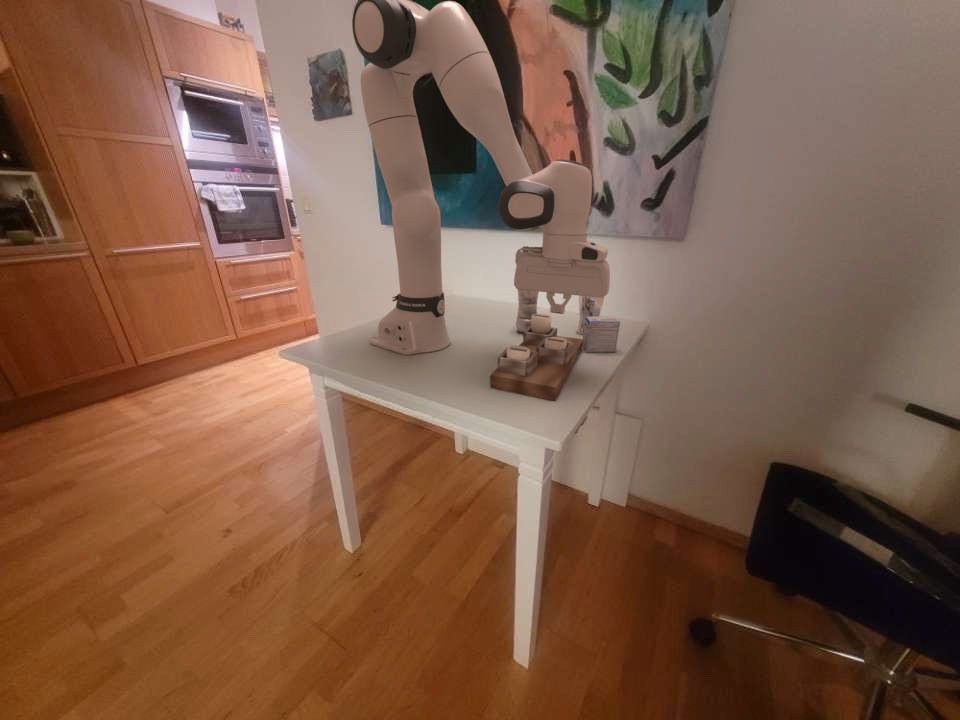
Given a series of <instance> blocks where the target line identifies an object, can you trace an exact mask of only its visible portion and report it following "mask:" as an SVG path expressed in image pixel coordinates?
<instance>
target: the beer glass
mask: <svg viewBox="0 0 960 720" xmlns="http://www.w3.org/2000/svg"><path fill="white" fill-rule="evenodd" d="M604 300H605V297H603V298H598V297H588V296H578V312H579V320H578V321H579V322H578V326H577V328H576V329H577V330H576V332H577V333H578V334H579V335H581V336H583V332H584V323H585V317H600V316H601V311H602V308H603V305H604Z"/></svg>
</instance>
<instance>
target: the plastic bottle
mask: <svg viewBox="0 0 960 720" xmlns="http://www.w3.org/2000/svg"><path fill="white" fill-rule="evenodd" d="M517 297H518V299H517V300H518V308H517V316H516V320H515V328H516V330H517V331H518V332H519V333H522V334H523V333H524V331H525V330H526V329H527V328H528V327H529V326H530V325H531V321H532V315H534V314H538V308H537V307H538V299H539V291H529V290H520V289H517Z"/></svg>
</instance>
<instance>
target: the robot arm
mask: <svg viewBox="0 0 960 720" xmlns="http://www.w3.org/2000/svg"><path fill="white" fill-rule="evenodd" d="M351 22H352V23H351V26H352V27H351V28H352V35H353V38H354V39H353V40H354V42H355V45H356V47H357V50H358V51H359V53H360V55H362V57H363V58H364V59H366V61H368V62H369V63H368V64H366V65H365V66H364V68H363V69H362V71H361V73H360V91H361V96H362V97H361V98H362V103H363V108H364V109H363V110H364V114H365V119H366V123H367V126H368V130H369V134H370V137H371V141H372V145H373V147H374V153H375V155H376V158H377V164H378V167H379V169H380V173H381V176H382V179H383V181H384V185H385V188H386V191H387V194H388V198H389V201H390V204H391V220H392V229H393V237H394V238H393V239H394V245H395V246H394V247H395V254H396V261H397V270H398V271H397V272H398V280H399V291H400V292H399V294H397V295H394V296H393V297H391V299H393V300H391V301H392V302H396V304H395V307H394V308H392V310H390V311H389V312H388V313H387V314H386V315H384V316H383V317H382V318H381V319H380V320H379V323H378V327H377V331H378V332H377V334H375V335H374V336H373V337H372V338H371V339H370V344H371V345H373V346H376V347H380V348H382V349H385V350H389V351H392V352H394V353H399V354H402V355H406V356H410V355H413V354H414V355H415V354H420V353H431V352H436V351H440V350H442V349H445V348H447V347H448V346H449V345H450V344H451V343H452V342H451V339H450V336H449V333H448V329H447V324H446V318H445V313H446V311H445V309H446V304H445V301H446V300H445V293H444V292H443V278H442V277H443V276H442V275H443V274H442V228H441V227H442V224H441V223H442V222H441V211H440V210H441V209H440V206H439V204H438V202H437V201H436V199H435V192H434V189H433V185H432V180H431V175H430V169H429V164H428V158H427V155H426V154H427V153H426V149H425V145H424V140H423V137H422V136H423V135H422V131H421V127H420V123H419V117H418V114H417V110H416V106H415V102H414V87H415V84H416V85H417V86H420V87H421V86H425V85H426V84H427V83H428V82H429V81H430V80H431V79H432V78H434V81H435V82H436V85H437V87H438V89H439V91H440V93H441V95H442V98H443V100H444V101H445V103H446V106H447V107H448V109H449V110H450V112H451V113H452V115H453V117H454V118H455V119H456V121H457V122H458V123H459V125H460V126H461V127H463V128H464V129H465V130H466V132H468V133H469V134H471V135H472V136H473V137H474V138H475V139H477V140H478V141H479V142H480V144H482V145H483V147H484V148H485V149H486V150H487V151H488V152H489V155H490V156H491V157H492V160H493V161H494V164H495V166H496V168H497V170H498V172H499V174H500V176H501V178H502V180H503V182H504V184H505V187H504V189H503V190H502V191H501V193H500V195H499V197H498V204H497V211H498V215H499V217H500V219H501V221H502V222H503V223H504V225H506V226H507V227H508V228H511V230H512V229H513V230H515V231H520V232H521V231H522V232H523V231H535V230H538V229H541V228H542V231H543V232H542V233H543V234H542V242H541V243H542V245H541V246H534V247H533V246H522V247H521V248H519V249H518V250H517V251H516V252H515V264H516V266H515V271H514V279H513V285H514V287H515V289H517V290H518V289H520V290H529V291H539V292H540V293H546V295H545V296H546V299H547V302H548V303H549V305H550V310H549V312H550V313H551V314H560V315H565V311H566V305H567V304H568V302H569V301H570V300H571V299H572V297H573V296H578V297H579V296H588V297H598V298H603V297H604V298H605V297H606V296H607V295H608V294H609V290H610V282H611V281H610V280H611V275H610V274H611V271H610V265H609V263H608V261H607V260H605V259H607V258H608V253H609V251H608V248H607V247H605V246H603V245H600V244H598V243H595V242H593V241H590V240H588V239H587V238H588V228H587V222H588V217H589V214H590V211H591V204H592V195H593V194H592V193H593V178H592V177H593V176H592V172H591V170H590V169H589V167H587V165H586V164H584V163H582V162H579V161H575V160H571V159H555V160H553V161H552V162H551V163H549V165H547V166H546V167H544V168H542V170H539V171H538V172H535V173H533V171H532V169H531V167H530V164H529V163H528V160H527V158H526V156H525V154H524V152H523V148H521V145H520V142H519V141H518V139H517V136H516V133H515V131H514V127H513V123H512V121H511V117H510V113H509V110H508V105H507V101H506V98H505V95H504V91H503V87H502V84H501V80H500V77H499V74H498V71H497V68H496V65H495V63H494V61H493V58H492V56H491V53H490V51H489V49H488V46H487V45H486V42H485V40H484V38H483V37H482V35H481V32H479V29H478V27H477V26H476V24H475V23H474V21H473V19H472V18H471V16H470V15H469V13H468V11H466V9H465V8H464V7H463V5H461V4H460V3H458V2H456V1H453V0H446V1H441V2H439V3H438V4H435V5H434V7H432V9H427V8H425V7H423V5H420V4H418V3H417V2H416V1H415V2H414V1H413V0H357V1H356V4H355V5H354V9H353V12H352V21H351ZM556 294H558V295H559V294H561V295H562V299H563V300H564V301H563V302H562V303H556V302H555V299H554V297H555V295H556Z"/></svg>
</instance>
